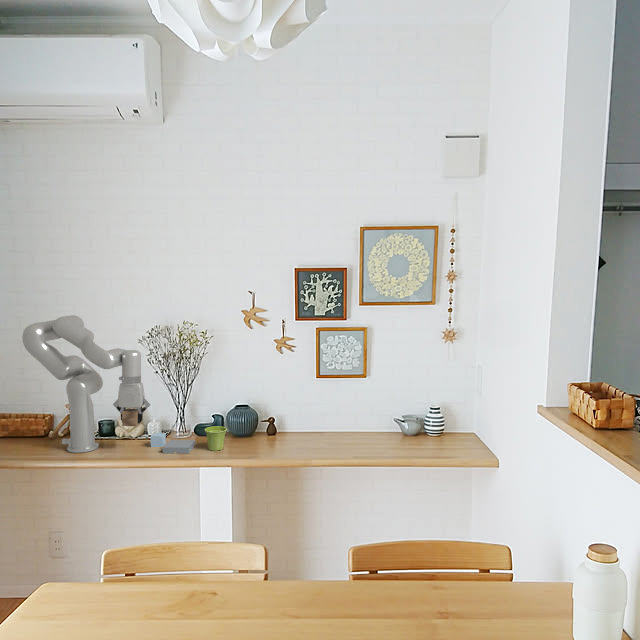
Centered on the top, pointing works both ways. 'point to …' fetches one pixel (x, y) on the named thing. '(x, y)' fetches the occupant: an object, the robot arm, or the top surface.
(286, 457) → the top surface
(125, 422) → the walnut block
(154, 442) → the blue block
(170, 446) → the slate base
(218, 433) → the plant pot
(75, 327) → the robot arm
